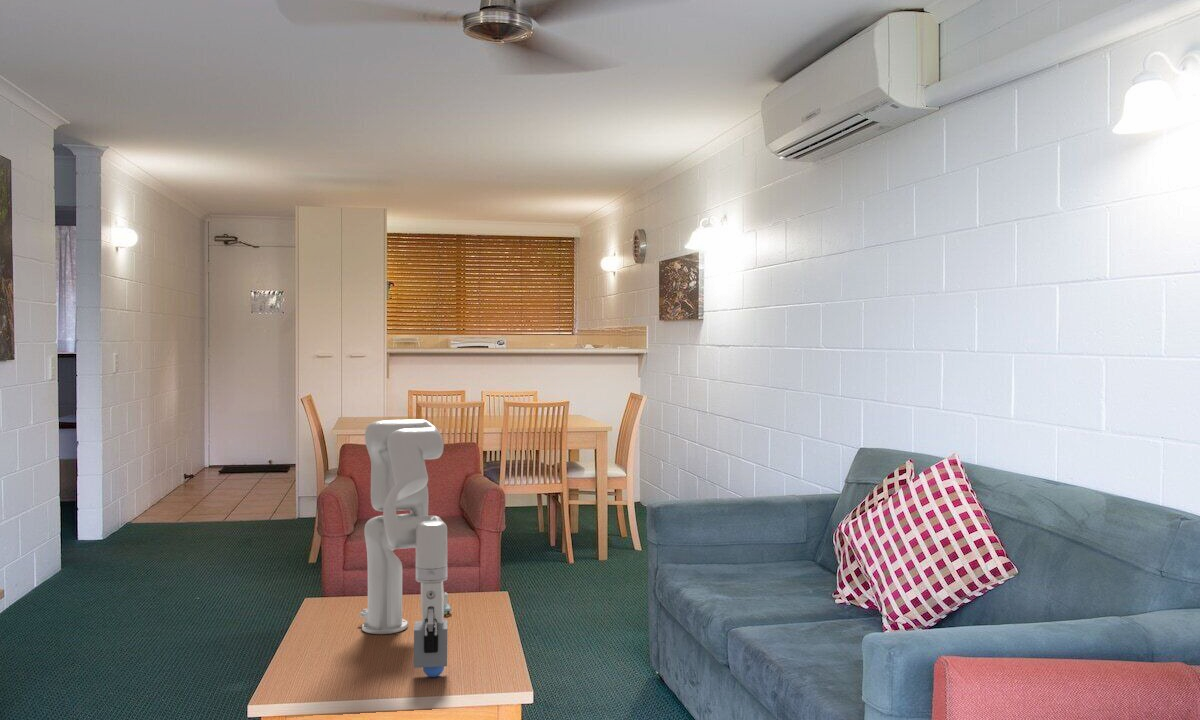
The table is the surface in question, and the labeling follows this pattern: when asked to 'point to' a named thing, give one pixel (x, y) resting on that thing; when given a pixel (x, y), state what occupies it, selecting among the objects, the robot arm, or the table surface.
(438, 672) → the ball
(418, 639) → the gray foam cube
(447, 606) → the pacifier
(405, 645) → the table surface
